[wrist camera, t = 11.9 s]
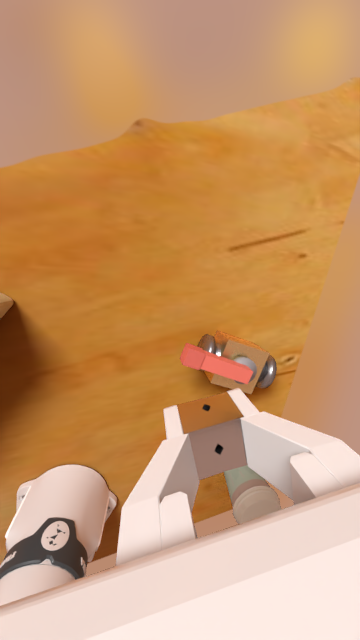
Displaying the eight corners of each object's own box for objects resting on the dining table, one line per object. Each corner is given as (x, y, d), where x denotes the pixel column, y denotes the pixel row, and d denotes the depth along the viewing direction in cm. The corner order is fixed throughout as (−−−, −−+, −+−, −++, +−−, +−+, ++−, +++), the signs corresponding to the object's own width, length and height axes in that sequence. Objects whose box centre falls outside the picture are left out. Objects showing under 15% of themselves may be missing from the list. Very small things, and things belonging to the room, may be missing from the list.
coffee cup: (212, 475, 48) (233, 539, 36) (218, 442, 46) (242, 498, 35) (248, 474, 49) (279, 535, 38) (255, 441, 48) (289, 495, 36)
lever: (257, 361, 37) (269, 370, 33) (246, 383, 37) (257, 395, 34) (187, 335, 34) (192, 342, 30) (176, 360, 34) (180, 370, 31)
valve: (248, 381, 44) (264, 399, 38) (190, 364, 42) (197, 380, 35) (263, 346, 43) (283, 358, 37) (205, 326, 41) (215, 335, 34)
